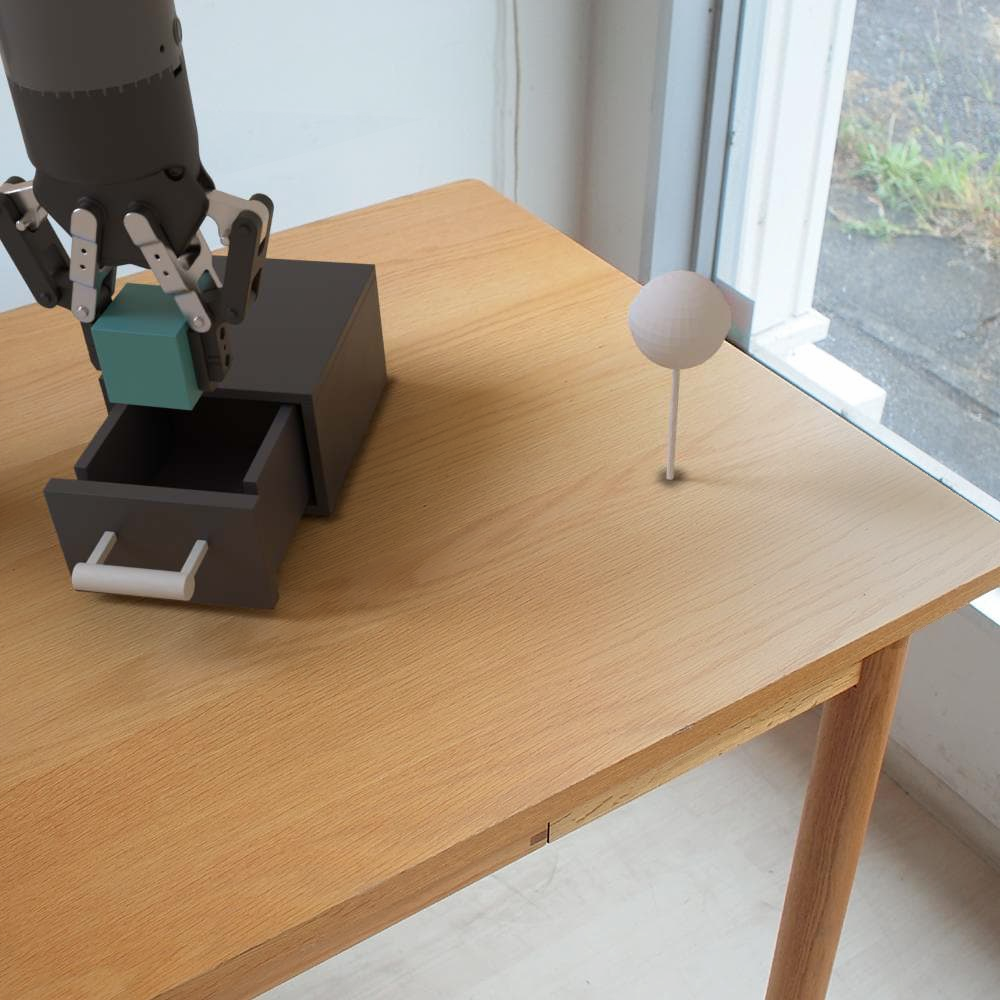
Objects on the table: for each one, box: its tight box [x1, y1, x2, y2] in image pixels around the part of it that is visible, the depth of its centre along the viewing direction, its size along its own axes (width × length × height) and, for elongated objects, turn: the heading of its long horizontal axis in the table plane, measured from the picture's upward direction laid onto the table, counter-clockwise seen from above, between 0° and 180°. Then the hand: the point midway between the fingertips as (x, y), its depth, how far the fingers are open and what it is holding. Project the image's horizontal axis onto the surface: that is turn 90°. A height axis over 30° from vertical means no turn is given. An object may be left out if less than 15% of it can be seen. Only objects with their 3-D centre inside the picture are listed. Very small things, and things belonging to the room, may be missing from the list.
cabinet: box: [98, 254, 388, 517], centre depth 89 cm, size 16×14×10 cm
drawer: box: [42, 396, 314, 612], centre depth 79 cm, size 19×12×8 cm, turn 170°
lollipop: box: [626, 269, 733, 481], centre depth 82 cm, size 6×6×15 cm
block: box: [91, 282, 203, 410], centre depth 66 cm, size 4×4×4 cm
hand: (166, 376), depth 68 cm, fingers closed on block, 4 cm apart
